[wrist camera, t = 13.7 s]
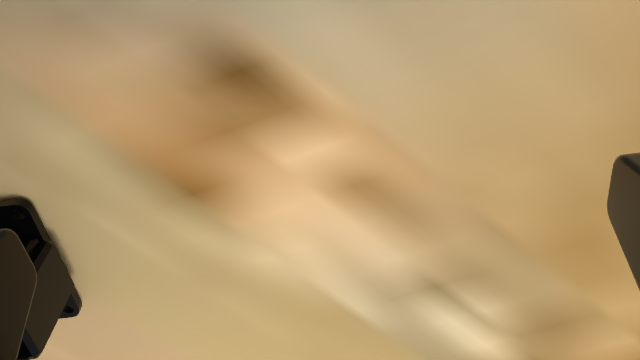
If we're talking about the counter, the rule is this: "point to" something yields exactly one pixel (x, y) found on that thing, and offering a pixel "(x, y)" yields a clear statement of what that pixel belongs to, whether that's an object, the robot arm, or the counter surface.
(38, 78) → the counter surface
